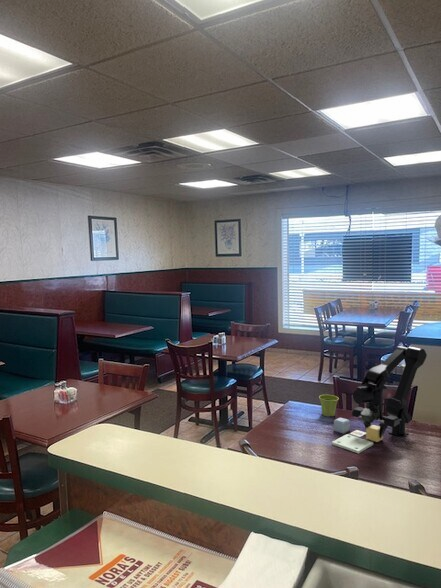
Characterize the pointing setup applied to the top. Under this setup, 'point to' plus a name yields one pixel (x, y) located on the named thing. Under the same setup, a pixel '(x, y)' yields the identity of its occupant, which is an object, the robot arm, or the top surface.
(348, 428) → the slate brick
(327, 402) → the plant pot
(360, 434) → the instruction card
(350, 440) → the base board
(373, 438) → the yellow cube
